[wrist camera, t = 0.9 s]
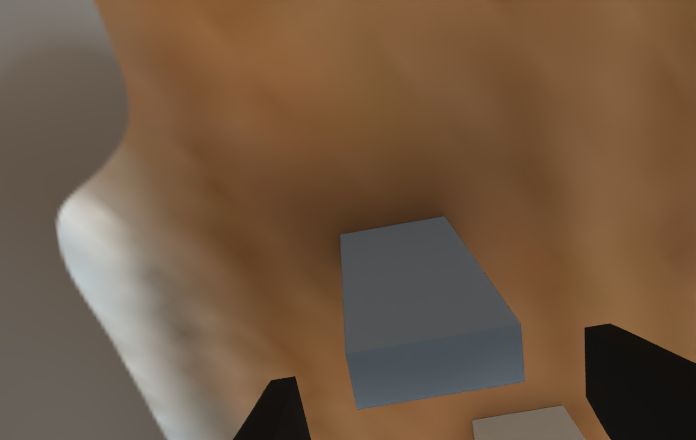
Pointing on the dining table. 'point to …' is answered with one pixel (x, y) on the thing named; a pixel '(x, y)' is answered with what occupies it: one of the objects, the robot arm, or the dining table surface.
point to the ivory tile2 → (528, 426)
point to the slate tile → (422, 316)
